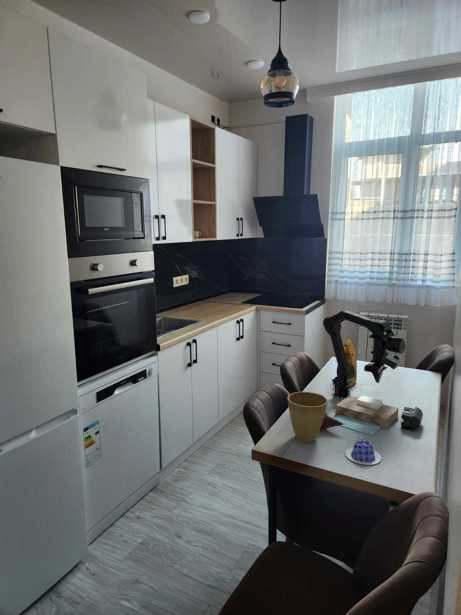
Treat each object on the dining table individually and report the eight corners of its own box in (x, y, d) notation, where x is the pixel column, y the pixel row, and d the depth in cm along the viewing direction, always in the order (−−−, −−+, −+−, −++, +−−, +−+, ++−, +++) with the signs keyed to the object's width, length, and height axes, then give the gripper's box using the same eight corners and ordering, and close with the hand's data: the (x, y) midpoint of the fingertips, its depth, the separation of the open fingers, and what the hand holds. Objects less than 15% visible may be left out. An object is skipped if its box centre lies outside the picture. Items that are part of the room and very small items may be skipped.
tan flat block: (335, 413, 176) (335, 405, 176) (349, 403, 187) (349, 395, 186) (386, 428, 162) (386, 419, 162) (397, 416, 173) (398, 408, 172)
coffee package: (334, 384, 211) (335, 343, 208) (339, 377, 222) (341, 338, 219) (353, 387, 207) (355, 345, 203) (358, 380, 218) (360, 340, 214)
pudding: (373, 448, 148) (374, 434, 147) (386, 466, 136) (387, 451, 135) (341, 448, 148) (341, 435, 147) (351, 467, 136) (352, 452, 135)
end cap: (419, 433, 158) (421, 417, 157) (400, 429, 162) (401, 413, 161) (422, 423, 167) (423, 408, 166) (403, 419, 170) (404, 404, 169)
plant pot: (316, 451, 145) (318, 410, 142) (280, 440, 153) (280, 400, 151) (332, 435, 157) (333, 396, 154) (297, 425, 165) (298, 388, 163)
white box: (356, 403, 177) (357, 399, 176) (362, 399, 181) (362, 395, 181) (377, 409, 171) (377, 404, 171) (382, 404, 175) (382, 400, 175)
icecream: (345, 413, 162) (309, 409, 169) (341, 416, 155) (303, 411, 162) (345, 431, 161) (308, 426, 168) (340, 434, 154) (303, 429, 162)
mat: (329, 422, 168) (329, 422, 168) (339, 415, 175) (339, 414, 175) (372, 436, 156) (372, 435, 156) (381, 427, 163) (381, 426, 163)
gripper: (390, 357, 166) (388, 393, 169) (405, 347, 180) (402, 381, 183) (364, 352, 173) (362, 386, 176) (380, 343, 188) (378, 375, 190)
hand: (377, 382), depth 181 cm, fingers closed
